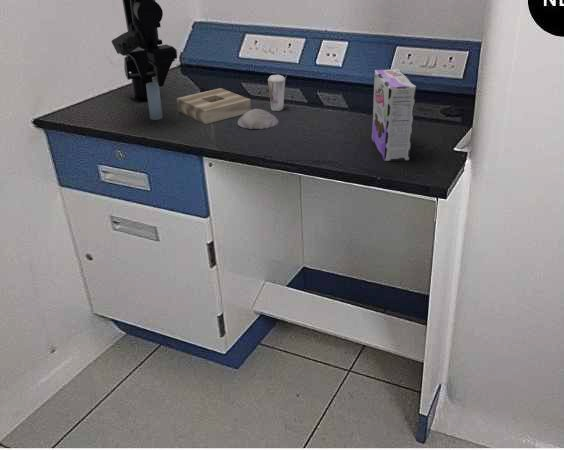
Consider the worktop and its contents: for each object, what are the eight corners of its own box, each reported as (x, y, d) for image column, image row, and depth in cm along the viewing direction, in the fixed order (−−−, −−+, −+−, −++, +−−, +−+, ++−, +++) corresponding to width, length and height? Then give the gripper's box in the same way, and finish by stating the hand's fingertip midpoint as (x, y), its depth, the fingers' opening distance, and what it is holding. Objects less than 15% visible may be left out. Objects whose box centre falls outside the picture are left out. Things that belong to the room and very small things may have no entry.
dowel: (148, 117, 164) (143, 83, 159) (158, 115, 165) (154, 81, 161) (153, 120, 162) (149, 86, 157) (164, 117, 163) (160, 83, 159)
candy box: (370, 139, 147) (373, 68, 139) (395, 137, 147) (399, 67, 139) (383, 161, 135) (388, 86, 127) (410, 160, 135) (416, 85, 127)
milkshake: (286, 112, 165) (286, 74, 160) (267, 111, 166) (265, 73, 161) (290, 107, 169) (289, 70, 164) (270, 106, 170) (269, 69, 165)
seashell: (229, 117, 154) (243, 97, 161) (233, 136, 157) (247, 116, 164) (268, 120, 151) (281, 99, 158) (271, 139, 154) (283, 118, 161)
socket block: (177, 111, 168) (176, 98, 166) (221, 100, 176) (220, 88, 174) (206, 124, 158) (204, 110, 157) (250, 112, 166) (250, 99, 164)
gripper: (96, 18, 154) (106, 80, 161) (131, 29, 141) (140, 97, 148) (137, 12, 160) (145, 72, 167) (175, 22, 147) (181, 88, 154)
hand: (152, 82), depth 159 cm, fingers open, 9 cm apart
